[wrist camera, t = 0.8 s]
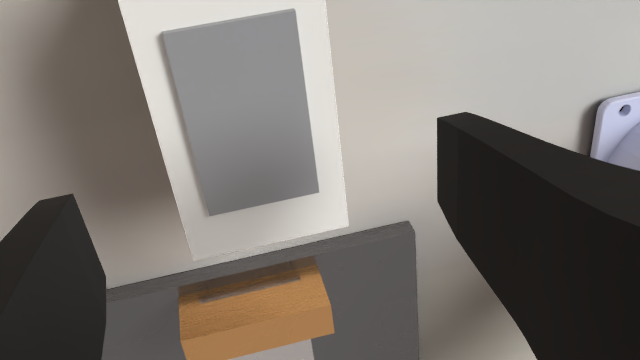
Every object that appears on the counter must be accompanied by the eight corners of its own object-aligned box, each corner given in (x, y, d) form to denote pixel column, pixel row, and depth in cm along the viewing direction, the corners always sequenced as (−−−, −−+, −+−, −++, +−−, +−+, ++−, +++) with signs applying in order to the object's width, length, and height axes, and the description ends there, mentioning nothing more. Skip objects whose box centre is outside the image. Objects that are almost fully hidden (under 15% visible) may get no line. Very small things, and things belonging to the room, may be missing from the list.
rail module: (274, -102, 18) (320, -64, 13) (306, 132, 23) (350, 230, 17) (122, -79, 18) (107, -30, 13) (185, 157, 22) (193, 265, 17)
